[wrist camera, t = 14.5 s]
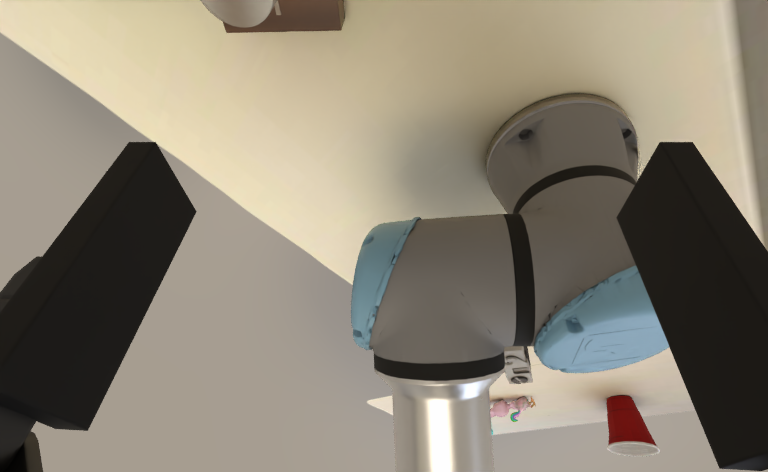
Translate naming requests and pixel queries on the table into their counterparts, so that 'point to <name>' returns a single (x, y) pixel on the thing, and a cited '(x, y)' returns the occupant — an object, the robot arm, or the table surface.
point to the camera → (517, 364)
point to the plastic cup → (628, 429)
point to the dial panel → (299, 17)
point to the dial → (240, 11)
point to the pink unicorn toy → (503, 408)
